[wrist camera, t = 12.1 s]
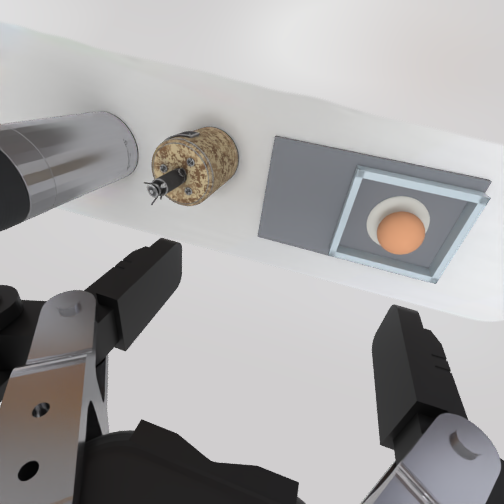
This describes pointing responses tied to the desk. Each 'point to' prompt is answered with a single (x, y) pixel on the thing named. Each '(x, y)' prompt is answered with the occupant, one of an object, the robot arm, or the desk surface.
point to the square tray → (412, 206)
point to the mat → (334, 195)
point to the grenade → (192, 165)
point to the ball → (400, 233)
